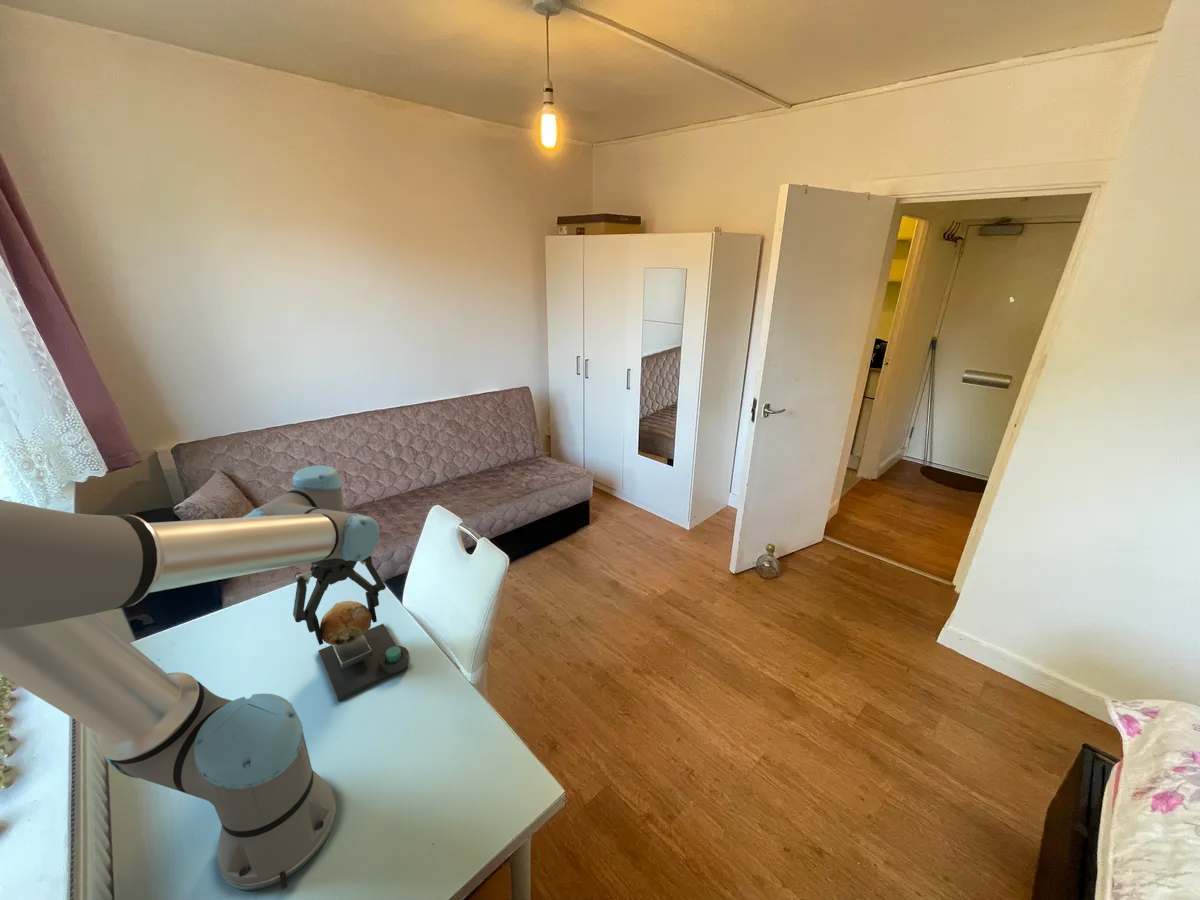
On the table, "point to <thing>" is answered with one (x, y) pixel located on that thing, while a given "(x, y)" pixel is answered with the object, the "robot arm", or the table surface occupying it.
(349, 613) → the bread roll
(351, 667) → the scale
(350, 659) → the silver metal plate
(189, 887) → the table surface
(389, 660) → the tare button
